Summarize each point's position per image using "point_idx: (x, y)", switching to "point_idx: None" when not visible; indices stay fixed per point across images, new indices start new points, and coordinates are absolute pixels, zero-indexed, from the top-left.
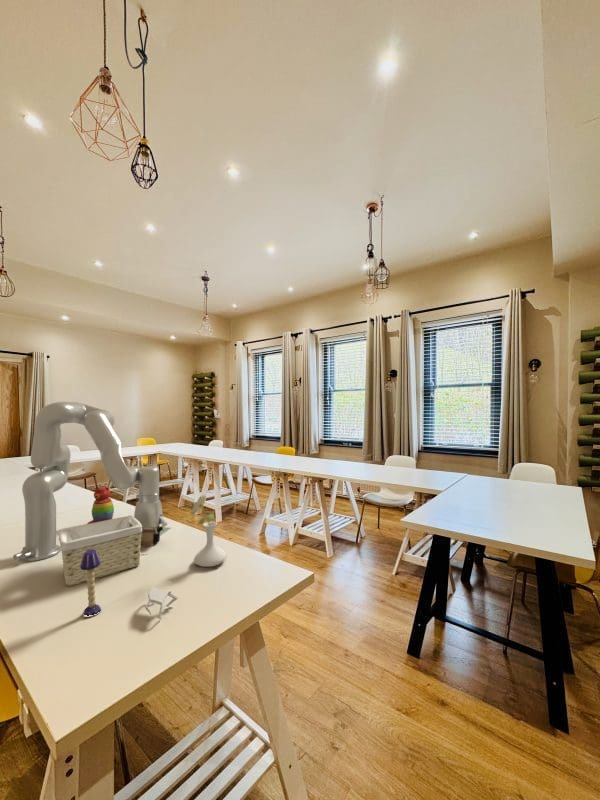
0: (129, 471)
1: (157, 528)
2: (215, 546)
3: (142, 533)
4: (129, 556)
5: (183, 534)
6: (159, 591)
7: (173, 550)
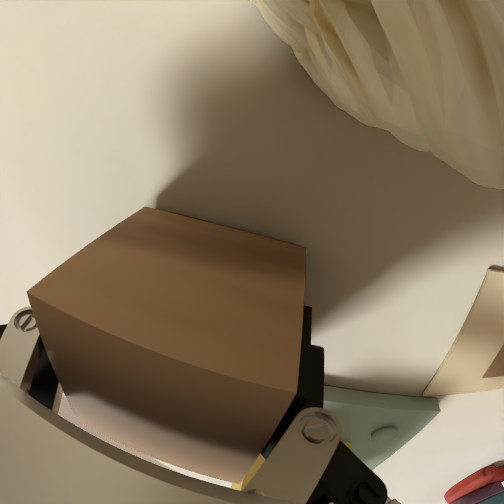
0: None
1: (47, 395)
2: None
3: (182, 349)
4: None
5: None
6: None
7: (11, 170)
